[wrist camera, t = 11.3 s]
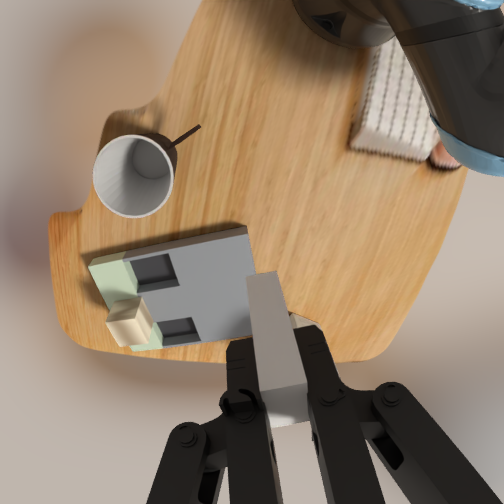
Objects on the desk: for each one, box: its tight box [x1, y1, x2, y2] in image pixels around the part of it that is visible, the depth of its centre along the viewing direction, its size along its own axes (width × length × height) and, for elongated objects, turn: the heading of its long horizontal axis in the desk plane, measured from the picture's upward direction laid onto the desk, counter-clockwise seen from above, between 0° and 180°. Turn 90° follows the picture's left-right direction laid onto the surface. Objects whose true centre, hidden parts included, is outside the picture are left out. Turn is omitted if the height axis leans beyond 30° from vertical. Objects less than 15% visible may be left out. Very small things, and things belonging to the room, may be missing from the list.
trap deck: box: [88, 226, 256, 351], centre depth 45 cm, size 24×18×2 cm
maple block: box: [105, 297, 154, 347], centre depth 42 cm, size 5×5×5 cm
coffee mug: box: [93, 125, 201, 218], centre depth 32 cm, size 12×9×10 cm
